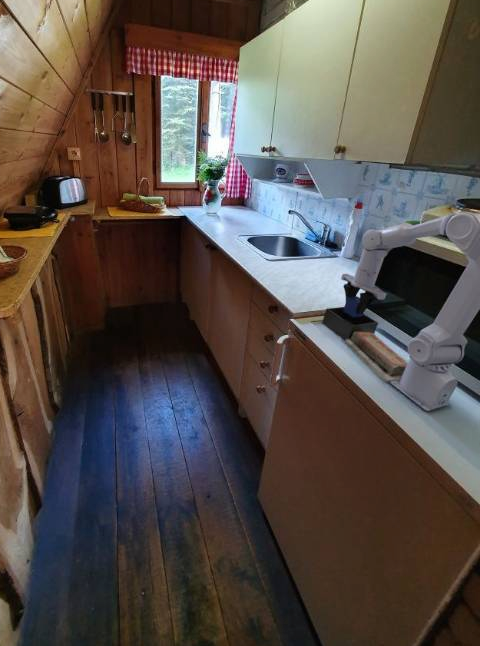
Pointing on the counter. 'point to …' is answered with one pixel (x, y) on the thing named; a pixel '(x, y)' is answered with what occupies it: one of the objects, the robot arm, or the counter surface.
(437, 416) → the counter surface
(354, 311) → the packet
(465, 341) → the robot arm
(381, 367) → the packaged product
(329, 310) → the waste bin
